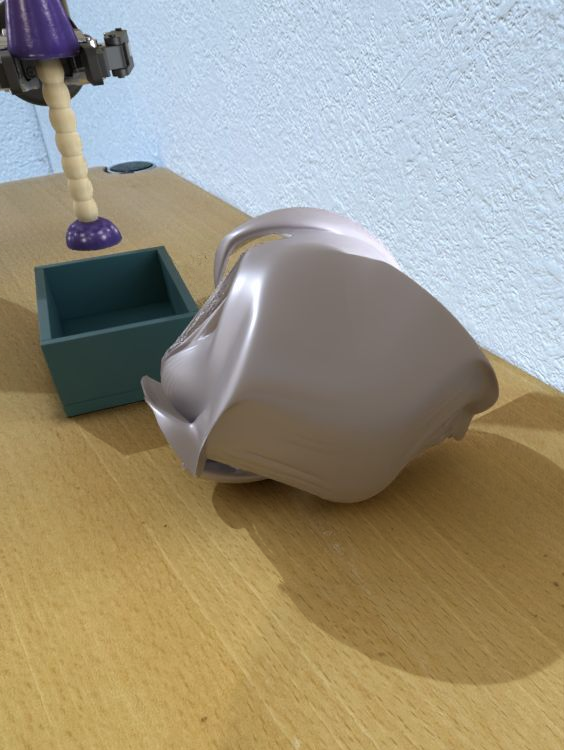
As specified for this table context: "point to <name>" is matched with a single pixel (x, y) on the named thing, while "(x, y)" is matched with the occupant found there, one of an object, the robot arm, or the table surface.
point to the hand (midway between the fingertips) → (54, 71)
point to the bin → (109, 324)
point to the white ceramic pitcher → (316, 364)
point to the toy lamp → (59, 108)
